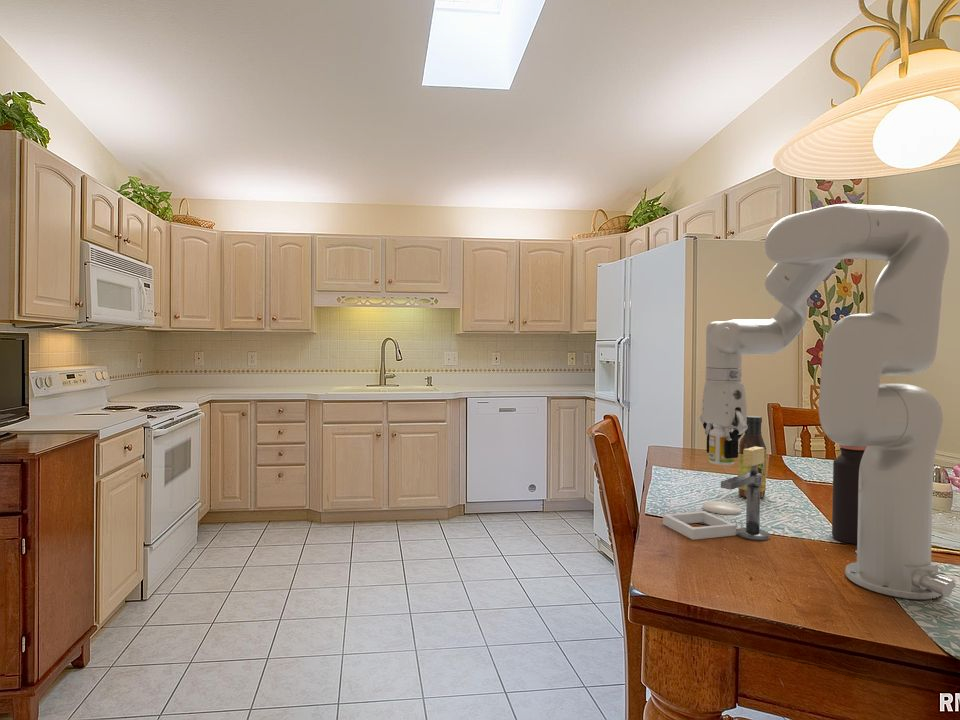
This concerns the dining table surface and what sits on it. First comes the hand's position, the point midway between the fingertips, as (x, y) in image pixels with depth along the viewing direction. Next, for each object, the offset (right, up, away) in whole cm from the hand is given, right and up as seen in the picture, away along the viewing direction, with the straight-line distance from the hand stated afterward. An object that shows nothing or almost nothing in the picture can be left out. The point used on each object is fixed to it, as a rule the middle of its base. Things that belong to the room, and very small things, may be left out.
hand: (721, 454), depth 132 cm
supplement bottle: (0, -2, 0) cm, 2 cm away
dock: (-11, -13, -14) cm, 22 cm away
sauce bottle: (+12, -12, +12) cm, 21 cm away
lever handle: (-5, -3, -21) cm, 21 cm away
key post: (-1, -13, -18) cm, 22 cm away
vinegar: (+17, -13, -20) cm, 29 cm away
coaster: (0, -13, 0) cm, 13 cm away
